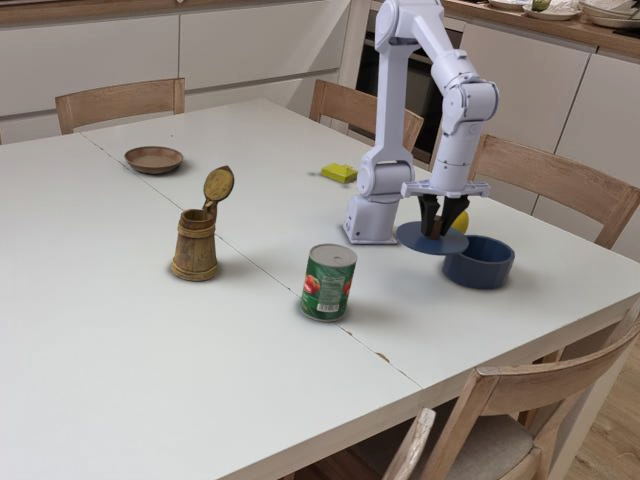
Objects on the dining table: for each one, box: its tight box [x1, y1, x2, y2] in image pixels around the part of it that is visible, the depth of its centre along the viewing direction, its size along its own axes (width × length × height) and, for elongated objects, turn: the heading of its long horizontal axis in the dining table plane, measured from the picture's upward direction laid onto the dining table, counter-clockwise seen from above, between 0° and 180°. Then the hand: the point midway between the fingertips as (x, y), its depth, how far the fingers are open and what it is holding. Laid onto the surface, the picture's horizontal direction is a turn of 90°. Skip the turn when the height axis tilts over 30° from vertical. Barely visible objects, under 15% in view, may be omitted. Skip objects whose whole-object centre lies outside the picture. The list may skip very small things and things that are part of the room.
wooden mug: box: [170, 164, 236, 282], centre depth 125 cm, size 9×14×18 cm, turn 141°
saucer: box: [123, 145, 184, 175], centre depth 169 cm, size 15×15×3 cm
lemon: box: [451, 209, 470, 235], centre depth 137 cm, size 6×6×8 cm
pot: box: [441, 234, 516, 291], centre depth 127 cm, size 11×11×6 cm
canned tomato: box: [299, 243, 358, 323], centre depth 115 cm, size 8×8×11 cm
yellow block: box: [312, 162, 359, 188], centre depth 166 cm, size 10×9×3 cm
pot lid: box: [395, 214, 469, 257], centre depth 119 cm, size 12×12×5 cm
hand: (432, 233), depth 119 cm, fingers closed on pot lid, 2 cm apart
